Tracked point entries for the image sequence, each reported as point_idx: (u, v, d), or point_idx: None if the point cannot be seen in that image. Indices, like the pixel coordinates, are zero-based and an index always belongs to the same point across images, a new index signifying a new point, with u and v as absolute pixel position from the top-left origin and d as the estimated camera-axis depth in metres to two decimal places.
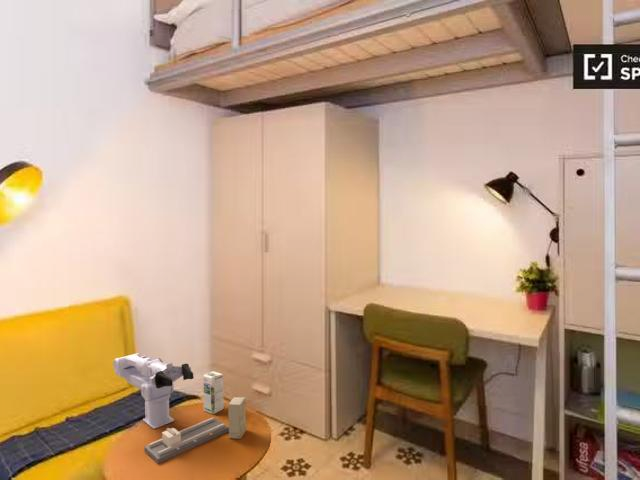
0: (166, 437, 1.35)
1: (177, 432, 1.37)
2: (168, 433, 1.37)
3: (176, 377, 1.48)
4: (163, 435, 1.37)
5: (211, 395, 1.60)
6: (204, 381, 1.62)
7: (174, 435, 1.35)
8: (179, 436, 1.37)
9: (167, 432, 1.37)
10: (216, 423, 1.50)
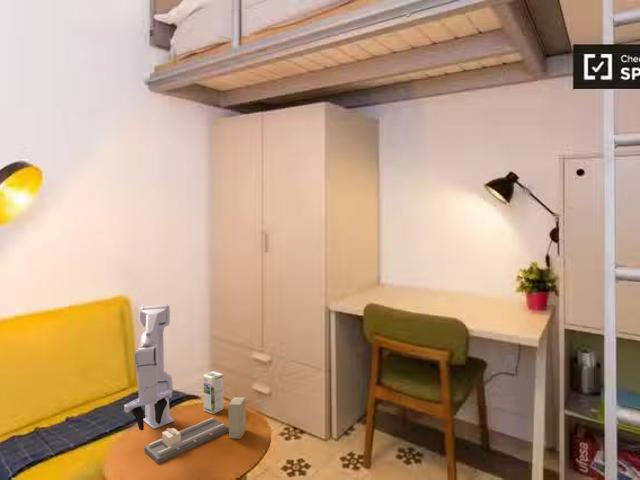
0: (166, 437, 1.35)
1: (177, 432, 1.37)
2: (168, 433, 1.37)
3: None
4: (163, 435, 1.37)
5: (211, 395, 1.60)
6: (204, 381, 1.62)
7: (174, 435, 1.35)
8: (179, 436, 1.37)
9: (167, 432, 1.37)
10: (216, 423, 1.50)
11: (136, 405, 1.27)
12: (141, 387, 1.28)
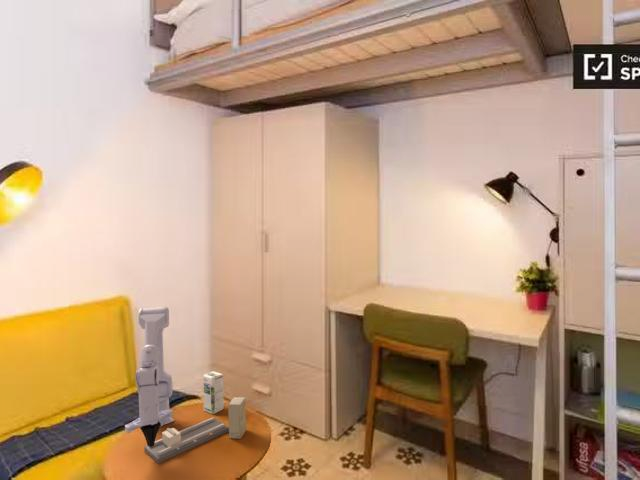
0: (166, 437, 1.35)
1: (177, 432, 1.37)
2: (168, 433, 1.37)
3: None
4: (163, 435, 1.37)
5: (211, 395, 1.60)
6: (204, 381, 1.62)
7: (174, 435, 1.35)
8: (179, 436, 1.37)
9: (167, 432, 1.37)
10: (216, 423, 1.50)
11: (137, 425, 1.27)
12: (142, 407, 1.29)
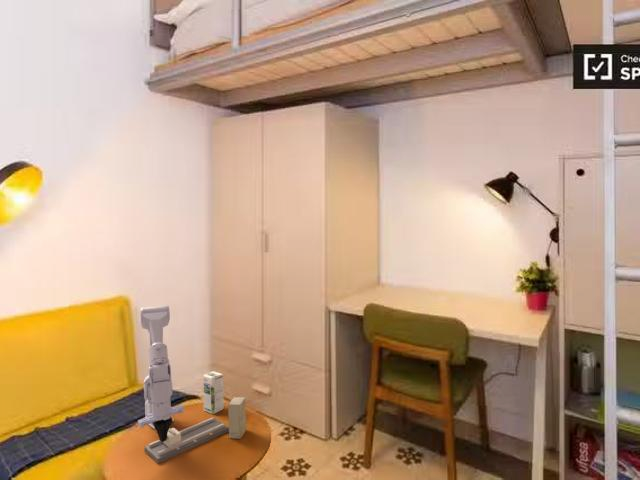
0: (166, 437, 1.35)
1: (177, 432, 1.37)
2: (168, 433, 1.37)
3: None
4: None
5: (211, 395, 1.60)
6: (204, 381, 1.62)
7: (174, 435, 1.35)
8: (179, 436, 1.37)
9: None
10: (216, 423, 1.50)
11: (150, 421, 1.30)
12: (156, 403, 1.31)
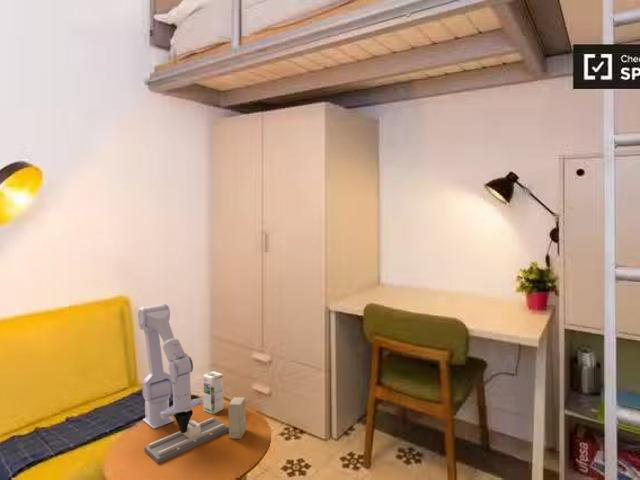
0: (187, 428, 1.41)
1: (197, 424, 1.42)
2: (188, 425, 1.42)
3: None
4: None
5: (211, 395, 1.60)
6: (204, 381, 1.62)
7: (194, 426, 1.41)
8: (199, 427, 1.42)
9: None
10: (216, 423, 1.50)
11: (172, 412, 1.35)
12: (180, 395, 1.37)
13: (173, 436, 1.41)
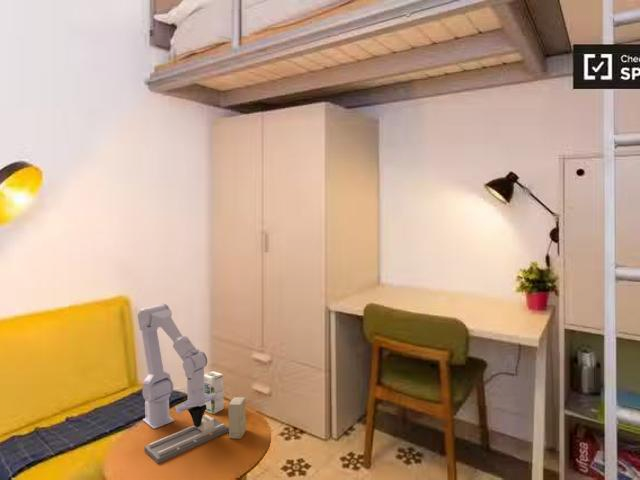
0: None
1: (210, 418, 1.46)
2: (202, 419, 1.46)
3: None
4: None
5: None
6: (204, 381, 1.62)
7: (208, 421, 1.44)
8: (212, 422, 1.46)
9: None
10: (216, 423, 1.50)
11: (186, 407, 1.39)
12: (197, 390, 1.41)
13: (173, 436, 1.41)
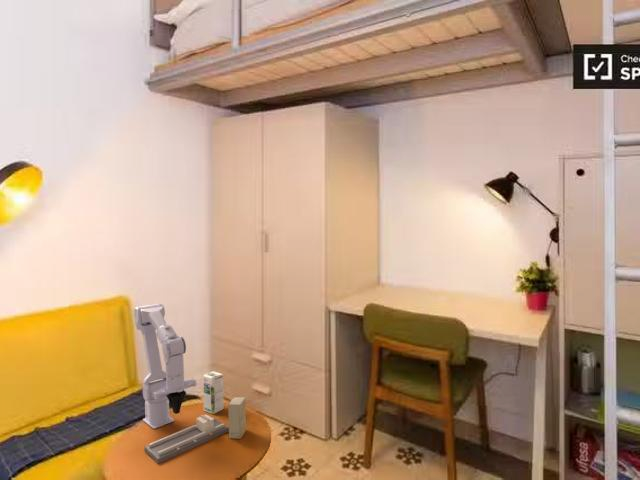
0: (200, 423, 1.44)
1: (210, 418, 1.46)
2: (202, 419, 1.46)
3: None
4: (197, 421, 1.46)
5: (211, 395, 1.60)
6: (204, 381, 1.62)
7: (208, 421, 1.44)
8: (212, 422, 1.46)
9: (201, 418, 1.46)
10: (216, 423, 1.50)
11: (165, 392, 1.36)
12: (172, 376, 1.37)
13: (173, 436, 1.41)
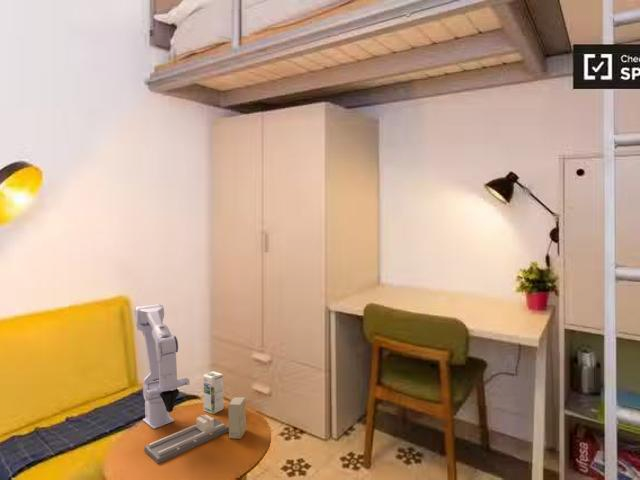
0: (200, 423, 1.44)
1: (210, 418, 1.46)
2: (202, 419, 1.46)
3: None
4: (197, 421, 1.46)
5: (211, 395, 1.60)
6: (204, 381, 1.62)
7: (208, 421, 1.44)
8: (212, 422, 1.46)
9: (201, 418, 1.46)
10: (216, 423, 1.50)
11: (157, 391, 1.37)
12: (164, 374, 1.38)
13: (173, 436, 1.41)
